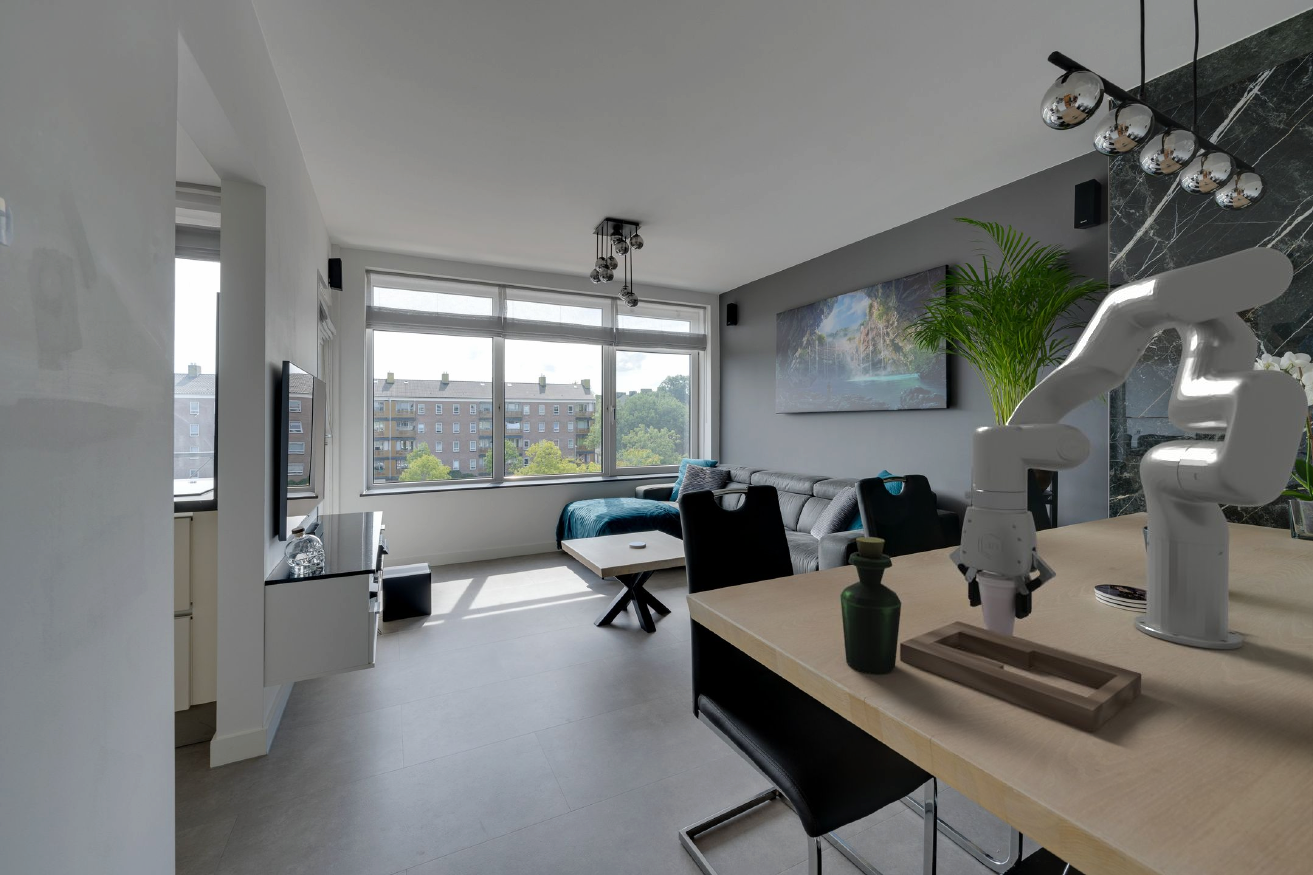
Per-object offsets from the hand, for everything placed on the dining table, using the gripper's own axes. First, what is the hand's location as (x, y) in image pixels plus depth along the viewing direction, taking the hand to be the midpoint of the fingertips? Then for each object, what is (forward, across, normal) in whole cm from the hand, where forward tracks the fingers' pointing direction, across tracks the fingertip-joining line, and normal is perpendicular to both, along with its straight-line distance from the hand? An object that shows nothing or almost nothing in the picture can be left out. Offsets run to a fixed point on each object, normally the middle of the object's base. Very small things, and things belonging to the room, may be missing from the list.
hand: (998, 609), depth 89 cm
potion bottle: (+4, -5, -27) cm, 28 cm away
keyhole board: (+4, +8, -14) cm, 17 cm away
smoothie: (+4, 0, 0) cm, 4 cm away
